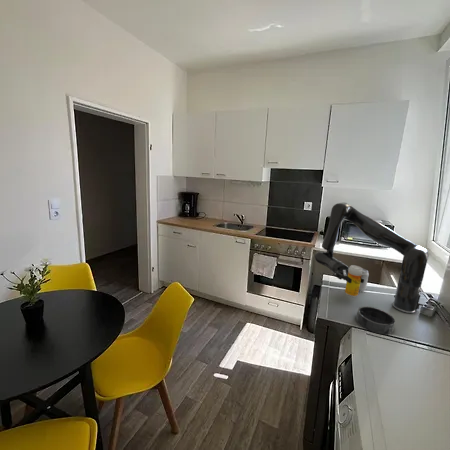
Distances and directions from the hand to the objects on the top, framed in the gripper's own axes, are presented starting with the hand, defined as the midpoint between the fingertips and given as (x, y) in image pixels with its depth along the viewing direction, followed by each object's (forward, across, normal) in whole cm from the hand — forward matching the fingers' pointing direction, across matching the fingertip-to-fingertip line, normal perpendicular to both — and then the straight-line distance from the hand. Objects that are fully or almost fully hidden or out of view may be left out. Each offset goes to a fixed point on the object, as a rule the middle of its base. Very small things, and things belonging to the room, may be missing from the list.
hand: (356, 281), depth 122 cm
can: (-21, +18, +15) cm, 31 cm away
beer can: (-2, 0, +9) cm, 9 cm away
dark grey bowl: (+13, +2, +15) cm, 20 cm away
